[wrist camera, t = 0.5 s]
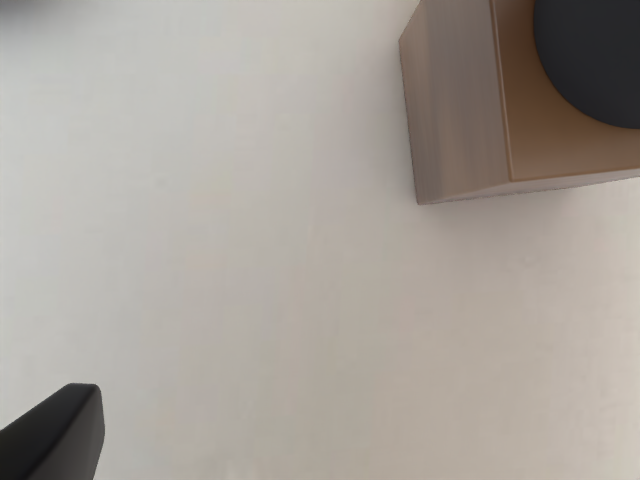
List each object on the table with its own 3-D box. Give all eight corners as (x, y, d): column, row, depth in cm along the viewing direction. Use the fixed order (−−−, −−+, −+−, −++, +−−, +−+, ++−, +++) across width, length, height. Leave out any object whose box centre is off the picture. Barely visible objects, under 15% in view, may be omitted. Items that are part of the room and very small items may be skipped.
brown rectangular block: (578, 186, 21) (788, 151, 12) (416, 205, 21) (510, 183, 12) (560, 22, 21) (758, -134, 12) (397, 39, 20) (477, -109, 12)
